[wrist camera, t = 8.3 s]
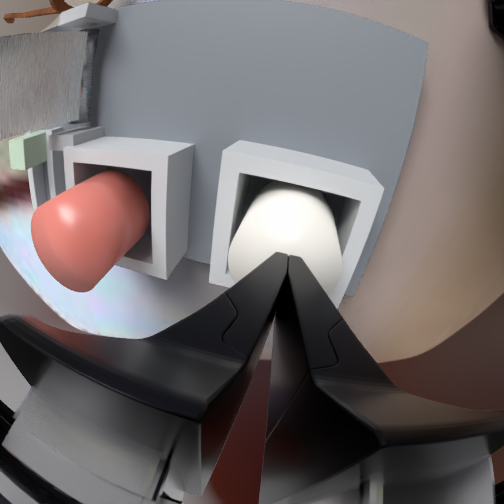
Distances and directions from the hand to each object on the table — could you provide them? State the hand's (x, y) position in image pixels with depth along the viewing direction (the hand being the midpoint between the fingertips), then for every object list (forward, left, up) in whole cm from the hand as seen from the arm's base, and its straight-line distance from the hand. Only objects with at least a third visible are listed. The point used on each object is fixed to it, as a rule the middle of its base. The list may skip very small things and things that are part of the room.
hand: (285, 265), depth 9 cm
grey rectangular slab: (+12, -6, -4) cm, 13 cm away
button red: (+8, +1, -2) cm, 8 cm away
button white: (0, 0, -4) cm, 4 cm away
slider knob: (+16, -2, -5) cm, 16 cm away
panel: (+7, -3, -7) cm, 10 cm away
